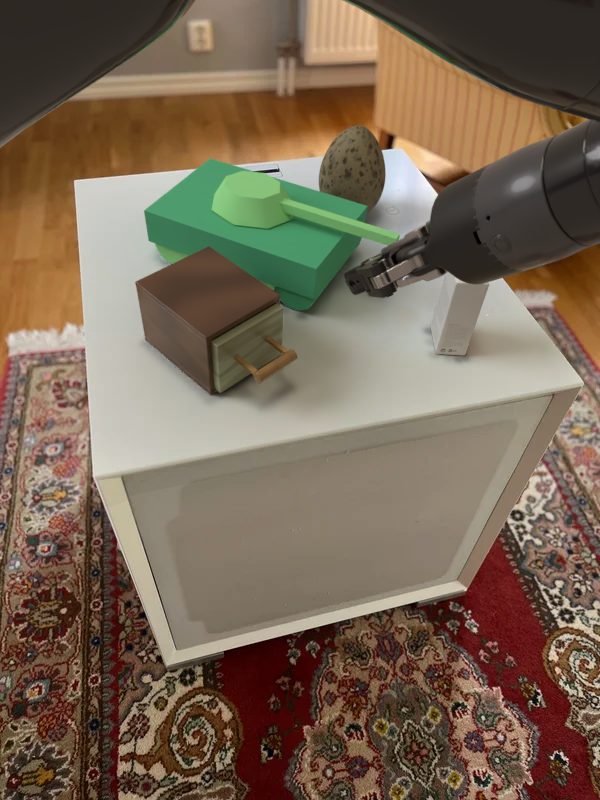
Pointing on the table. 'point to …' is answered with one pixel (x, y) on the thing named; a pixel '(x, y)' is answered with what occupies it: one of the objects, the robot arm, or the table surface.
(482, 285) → the cosmetic box
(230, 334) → the drawer
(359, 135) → the decorative egg
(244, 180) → the toy tank
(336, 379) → the table surface
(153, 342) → the cabinet
